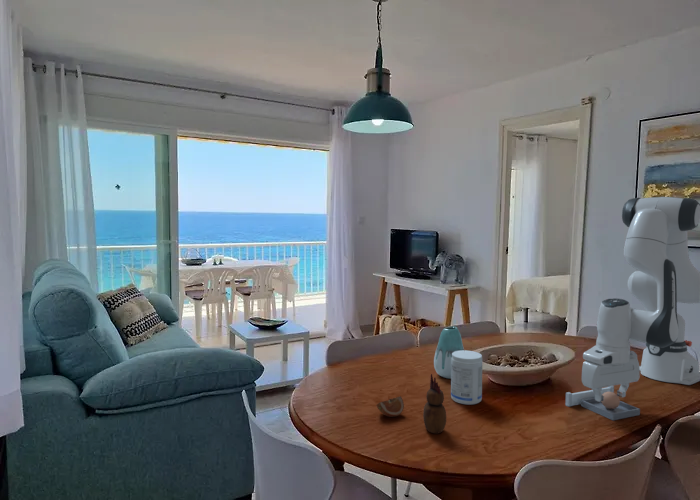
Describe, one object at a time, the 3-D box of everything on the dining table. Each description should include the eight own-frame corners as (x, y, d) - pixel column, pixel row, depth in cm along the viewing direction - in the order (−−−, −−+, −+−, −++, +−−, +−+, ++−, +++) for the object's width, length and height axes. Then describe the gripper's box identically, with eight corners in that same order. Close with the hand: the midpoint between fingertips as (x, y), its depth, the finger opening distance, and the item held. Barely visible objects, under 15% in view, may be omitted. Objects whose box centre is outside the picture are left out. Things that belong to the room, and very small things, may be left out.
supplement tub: (468, 392, 153) (469, 348, 152) (488, 402, 144) (489, 356, 143) (444, 396, 148) (445, 352, 147) (463, 407, 140) (465, 360, 139)
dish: (606, 401, 146) (607, 395, 146) (639, 414, 136) (640, 408, 136) (580, 405, 142) (581, 400, 142) (612, 420, 132) (613, 414, 132)
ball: (608, 404, 142) (609, 388, 142) (623, 410, 138) (624, 394, 137) (596, 406, 140) (597, 390, 140) (611, 412, 136) (612, 396, 135)
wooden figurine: (420, 425, 128) (422, 372, 127) (441, 424, 128) (442, 371, 127) (426, 436, 121) (428, 380, 120) (448, 436, 121) (449, 380, 120)
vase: (430, 378, 165) (431, 329, 164) (437, 368, 176) (438, 322, 175) (463, 383, 161) (464, 332, 160) (468, 373, 172) (469, 325, 171)
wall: (610, 397, 150) (610, 384, 149) (613, 398, 149) (614, 386, 148) (565, 405, 143) (565, 392, 142) (568, 406, 141) (569, 393, 141)
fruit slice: (385, 423, 129) (385, 405, 129) (371, 414, 134) (371, 397, 134) (408, 416, 134) (408, 399, 133) (393, 408, 139) (393, 392, 139)
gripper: (627, 347, 145) (625, 390, 146) (578, 353, 137) (576, 399, 138) (646, 352, 139) (644, 397, 140) (597, 360, 131) (594, 407, 132)
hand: (610, 398), depth 139 cm, fingers open, 8 cm apart
